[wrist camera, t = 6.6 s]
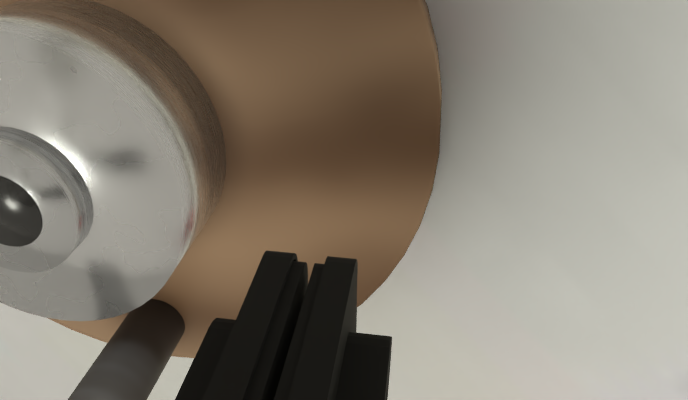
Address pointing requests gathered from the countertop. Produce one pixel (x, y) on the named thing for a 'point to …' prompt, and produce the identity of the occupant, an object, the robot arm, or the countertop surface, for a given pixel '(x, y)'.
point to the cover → (98, 160)
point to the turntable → (286, 159)
